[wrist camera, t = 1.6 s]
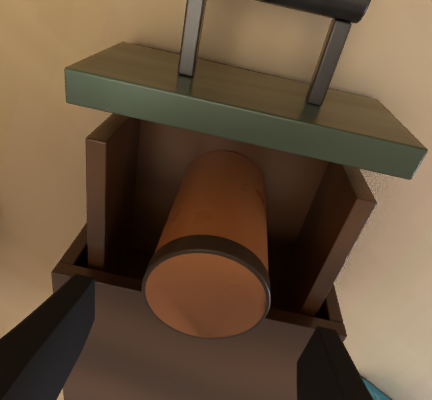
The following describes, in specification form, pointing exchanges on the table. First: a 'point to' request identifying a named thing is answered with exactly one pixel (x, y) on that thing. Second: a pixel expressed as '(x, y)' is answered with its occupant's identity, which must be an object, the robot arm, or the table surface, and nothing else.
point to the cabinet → (181, 347)
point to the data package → (375, 392)
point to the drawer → (236, 151)
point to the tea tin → (213, 252)
